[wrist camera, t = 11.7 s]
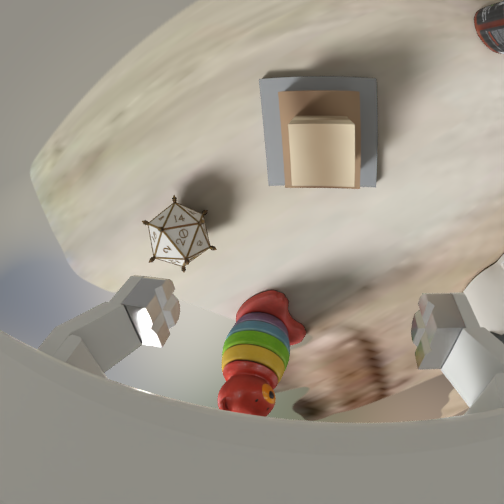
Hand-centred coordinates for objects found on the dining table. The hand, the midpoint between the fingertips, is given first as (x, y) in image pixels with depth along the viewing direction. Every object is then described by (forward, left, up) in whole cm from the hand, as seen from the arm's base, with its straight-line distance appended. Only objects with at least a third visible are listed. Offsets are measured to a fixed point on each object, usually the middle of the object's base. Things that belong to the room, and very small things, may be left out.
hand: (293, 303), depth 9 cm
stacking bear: (+7, +26, -26) cm, 38 cm away
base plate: (-1, -2, -26) cm, 26 cm away
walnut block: (-1, -2, -24) cm, 24 cm away
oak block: (-1, -1, -19) cm, 19 cm away
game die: (+16, +9, -26) cm, 32 cm away
